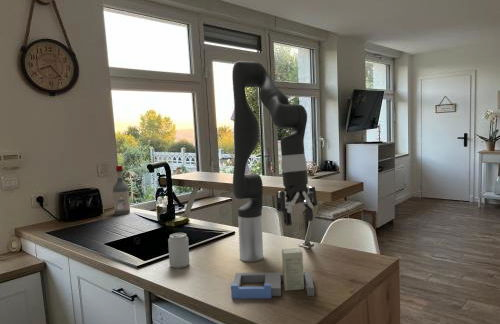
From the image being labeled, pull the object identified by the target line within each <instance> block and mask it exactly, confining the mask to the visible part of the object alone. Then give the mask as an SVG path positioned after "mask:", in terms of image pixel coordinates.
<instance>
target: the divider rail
mask: <svg viewBox="0 0 500 324" xmlns="http://www.w3.org/2000/svg"><path fill="white" fill-rule="evenodd" d="M303 275H304V286H305V289H306V294H307V297H315V286H314V282H313V277H312V273H311V271H308V272H307V271H305V272H304V271H303ZM242 283H243V284H244V283H264V284H263V286H242ZM281 283H284V282H283V272H236V273H235V274H234V279H233V283H231V285H230V289H231V299H233V300H234V299H238V300H239V299H241V300H242V299H272V297H281V296H282V284H281Z"/></svg>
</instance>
